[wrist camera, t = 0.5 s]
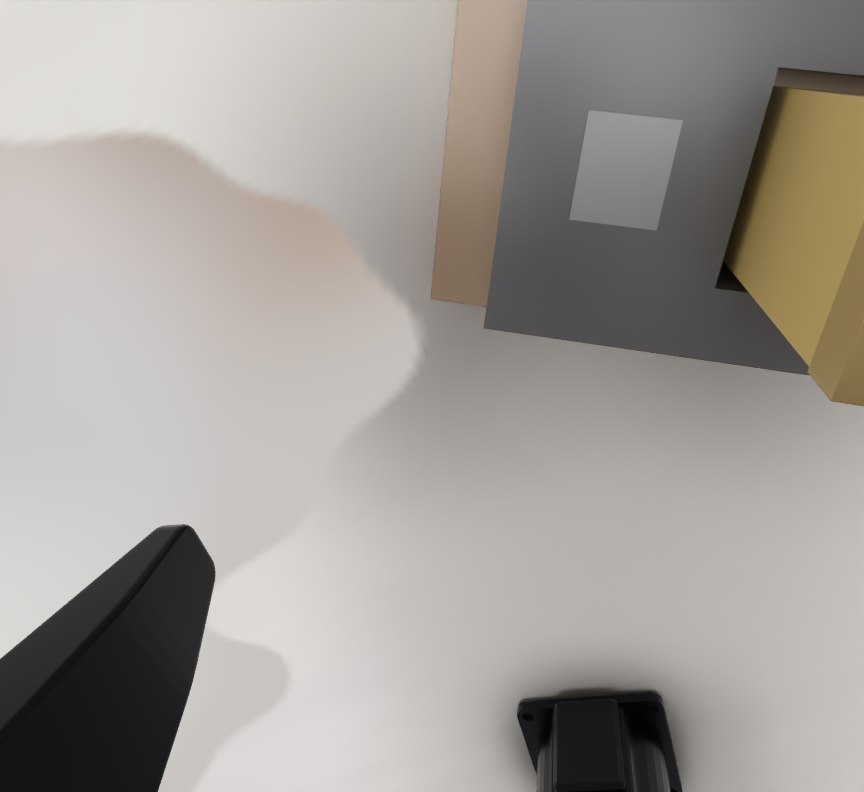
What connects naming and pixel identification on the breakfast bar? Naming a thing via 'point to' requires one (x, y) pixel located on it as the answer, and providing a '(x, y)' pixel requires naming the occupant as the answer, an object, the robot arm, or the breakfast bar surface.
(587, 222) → the panel
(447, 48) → the breakfast bar surface
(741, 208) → the plug
